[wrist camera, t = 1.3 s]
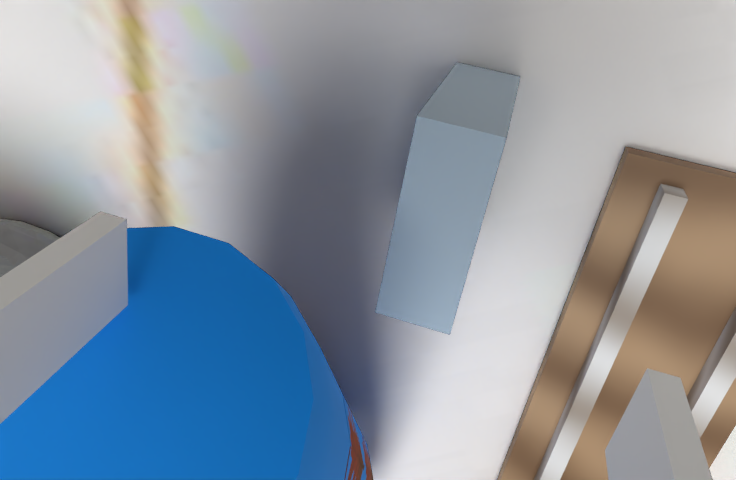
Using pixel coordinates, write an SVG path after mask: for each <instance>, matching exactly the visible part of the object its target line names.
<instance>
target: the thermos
mask: <svg viewBox="0 0 736 480" xmlns="http://www.w3.org/2000/svg"><path fill="white" fill-rule="evenodd" d="M127 271H128V305H127V306H126V307H125V308H124V309H123V310H122V311H121V312H120V313H119V314H118V315H117V316H116V317H115V318H113V319H112V320H111V321H110V322H109V323H108V324H107V325H106V326H105V327H104V328H103V329H102V330H101V331H99V332H98V333H97V334H96V335H95V336H94V337H93V338H92V339H91V340H90V341H89V342H88V343H87V344H86V345H84V346H83V347H82V348H81V349H80V350H79V351H78V352H77V353H76V354H75V355H74V356H73V357H72V358H71V359H69V360H68V361H67V362H66V363H65V364H64V365H63V366H62V367H61V368H60V369H59V370H58V371H57V372H55V373H54V374H53V375H52V376H51V377H50V378H49V379H48V380H47V381H46V382H45V383H44V384H43V385H42V386H40V387H39V388H38V389H37V390H36V391H35V392H34V393H33V394H32V395H31V396H30V397H29V398H28V399H27V400H25V401H24V402H23V403H22V404H21V405H20V406H19V407H18V408H17V409H16V410H15V411H14V412H13V413H11V414H10V415H9V416H8V417H7V418H6V419H5V420H4V421H3V422H2V423H1V424H0V480H373V475H372V470H371V464H370V458H369V453H368V447H367V443H366V441H365V439H364V437H363V435H362V433H361V431H360V429H359V427H358V425H357V422H356V420H355V418H354V416H353V414H352V412H351V410H350V408H349V406H348V404H347V402H346V400H345V398H344V396H343V394H342V391H341V389H340V387H339V385H338V383H337V381H336V379H335V377H334V375H333V373H332V371H331V369H330V366H329V364H328V362H327V360H326V358H325V356H324V354H323V352H322V350H321V348H320V346H319V344H318V343H317V341H316V339H315V337H314V336H313V334H312V332H311V330H310V329H309V327H308V325H307V323H306V322H305V320H304V318H303V316H302V315H301V313H300V311H299V309H298V308H297V306H296V304H295V302H294V301H293V299H292V297H291V296H290V295H289V294H288V293H287V292H286V291H285V290H284V289H283V288H282V287H281V286H280V285H279V284H278V283H277V282H276V281H275V280H274V279H273V278H272V277H271V276H270V275H268V274H267V273H266V272H265V271H263V270H262V269H261V268H259V267H258V266H257V265H256V264H254V263H253V262H252V261H251V260H249V259H248V258H247V257H246V256H244V255H243V254H242V253H240V252H239V251H238V250H237V249H235V248H234V247H233V246H232V245H230V244H229V243H226V242H223V241H220V240H217V239H213V238H210V237H207V236H203V235H200V234H197V233H194V232H190V231H187V230H184V229H180V228H177V227H174V226H171V227H146V228H127Z"/></svg>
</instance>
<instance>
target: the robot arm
mask: <svg viewBox="0 0 736 480" xmlns="http://www.w3.org/2000/svg"><path fill="white" fill-rule="evenodd" d="M127 305H128V271H127V219H124V218H121V217H117V216H114V215H110V214H107V213H104V212H99V213H97V214H96V215H94V216H93V217H91V218H90V219H88V220H87V221H85V222H84V223H82V224H81V225H79V226H78V227H76V228H74V229H73V230H71V231H70V232H68V233H67V234H65V235H64V236H62V237H61V238H59V239H58V240H56V241H55V242H53V243H52V244H50V245H49V246H47V247H46V248H44V249H43V250H41V251H40V252H38V253H37V254H35V255H33V256H32V257H30V258H29V259H27V260H26V261H24V262H23V263H21V264H20V265H18V266H17V267H15V268H14V269H12V270H11V271H9V272H8V273H6V274H5V275H3V276H2V277H0V424H1V423H2V422H3V421H4V420H5V419H6V418H7V417H8V416H9V415H10V414H11V413H13V412H14V411H15V410H16V409H17V408H18V407H19V406H20V405H21V404H22V403H23V402H24V401H25V400H27V399H28V398H29V397H30V396H31V395H32V394H33V393H34V392H35V391H36V390H37V389H38V388H39V387H40V386H42V385H43V384H44V383H45V382H46V381H47V380H48V379H49V378H50V377H51V376H52V375H53V374H54V373H55V372H57V371H58V370H59V369H60V368H61V367H62V366H63V365H64V364H65V363H66V362H67V361H68V360H69V359H71V358H72V357H73V356H74V355H75V354H76V353H77V352H78V351H79V350H80V349H81V348H82V347H83V346H84V345H86V344H87V343H88V342H89V341H90V340H91V339H92V338H93V337H94V336H95V335H96V334H97V333H98V332H99V331H101V330H102V329H103V328H104V327H105V326H106V325H107V324H108V323H109V322H110V321H111V320H112V319H113V318H115V317H116V316H117V315H118V314H119V313H120V312H121V311H122V310H123V309H124V308H125V307H126V306H127ZM605 456H606V463H607V471H608V479H609V480H713V479H712V476H711V473H710V470H709V466H708V463H707V460H706V457H705V454H704V451H703V447H702V444H701V441H700V438H699V435H698V432H697V428H696V425H695V422H694V419H693V416H692V413H691V409H690V406H689V403H688V400H687V397H686V393H685V390H684V387H683V384H682V381H681V378H679V377H676V376H672V375H669V374H665V373H662V372H658V371H655V370H652V369H648V368H647V369H646V371H645V373H644V375H643V377H642V379H641V381H640V383H639V385H638V387H637V389H636V391H635V393H634V395H633V397H632V399H631V401H630V403H629V404H628V406H627V408H626V410H625V412H624V414H623V416H622V418H621V420H620V422H619V424H618V426H617V428H616V430H615V432H614V434H613V436H612V438H611V440H610V442H609V443H608V445H607V447H606V449H605Z"/></svg>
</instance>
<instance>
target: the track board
mask: <svg viewBox="0 0 736 480" xmlns="http://www.w3.org/2000/svg"><path fill="white" fill-rule="evenodd" d="M647 368H648V369H652V370H655V371H658V372H662V373H665V374H669V375H672V376H676V377H679V378H681V381H682V384H683V387H684V390H685V393H686V397H687V400H688V403H689V406H690V409H691V413H692V416H693V419H694V422H695V425H696V428H697V432H698V435H699V438H700V441H701V444H702V447H703V451H704V454H705V457H706V460H707V463H708V466H709V468H710V466H711V464H712V463H713V461H714V460H715V458H716V456H717V455H718V453H719V451H720V450H721V448H722V446H723V445H724V443H725V442H726V440H727V438H728V437H729V435H730V433H731V432H732V430H733V429H734V427H735V425H736V173H734V172H730V171H726V170H721V169H717V168H713V167H709V166H705V165H701V164H696V163H692V162H688V161H684V160H680V159H676V158H671V157H667V156H663V155H659V154H655V153H651V152H646V151H642V150H638V149H634V148H630V147H625V150H624V153H623V155H622V158H621V160H620V163H619V166H618V168H617V171H616V173H615V176H614V179H613V181H612V184H611V186H610V189H609V191H608V194H607V197H606V199H605V202H604V204H603V207H602V210H601V212H600V215H599V217H598V220H597V222H596V225H595V228H594V230H593V233H592V235H591V238H590V241H589V243H588V246H587V248H586V251H585V253H584V256H583V259H582V261H581V264H580V266H579V269H578V272H577V274H576V277H575V279H574V282H573V285H572V287H571V290H570V292H569V295H568V297H567V300H566V303H565V305H564V308H563V310H562V313H561V316H560V318H559V321H558V323H557V326H556V328H555V331H554V334H553V336H552V339H551V341H550V344H549V347H548V349H547V352H546V354H545V357H544V359H543V362H542V365H541V367H540V370H539V372H538V375H537V378H536V380H535V383H534V385H533V388H532V390H531V393H530V396H529V398H528V401H527V403H526V406H525V409H524V411H523V414H522V416H521V419H520V422H519V424H518V427H517V429H516V432H515V434H514V437H513V440H512V442H511V445H510V447H509V450H508V453H507V455H506V458H505V460H504V463H503V465H502V468H501V471H500V473H499V476H498V478H497V480H609V479H608V471H607V463H606V456H605V449H606V447H607V445H608V443H609V442H610V440H611V438H612V436H613V434H614V432H615V430H616V428H617V426H618V424H619V422H620V420H621V418H622V416H623V414H624V412H625V410H626V408H627V406H628V404H629V403H630V401H631V399H632V397H633V395H634V393H635V391H636V389H637V387H638V385H639V383H640V381H641V379H642V377H643V375H644V373H645V371H646V369H647Z"/></svg>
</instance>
